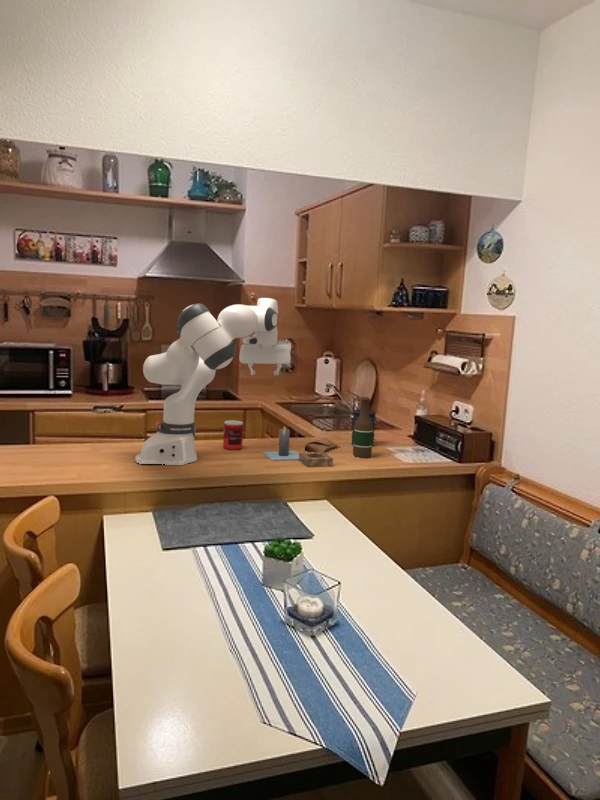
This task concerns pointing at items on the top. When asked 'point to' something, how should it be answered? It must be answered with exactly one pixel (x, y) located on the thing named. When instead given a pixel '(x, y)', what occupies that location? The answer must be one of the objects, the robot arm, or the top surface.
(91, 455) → the top surface
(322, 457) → the socket
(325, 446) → the sunglasses case
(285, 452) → the plug
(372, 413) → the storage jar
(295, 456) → the mat
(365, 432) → the beer bottle
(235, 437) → the canned food
